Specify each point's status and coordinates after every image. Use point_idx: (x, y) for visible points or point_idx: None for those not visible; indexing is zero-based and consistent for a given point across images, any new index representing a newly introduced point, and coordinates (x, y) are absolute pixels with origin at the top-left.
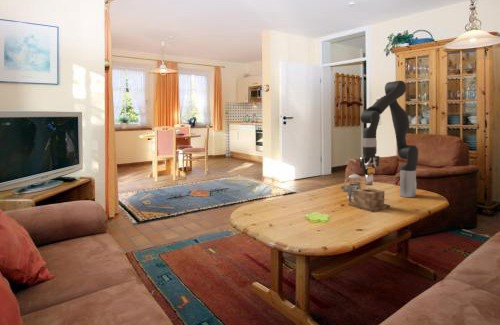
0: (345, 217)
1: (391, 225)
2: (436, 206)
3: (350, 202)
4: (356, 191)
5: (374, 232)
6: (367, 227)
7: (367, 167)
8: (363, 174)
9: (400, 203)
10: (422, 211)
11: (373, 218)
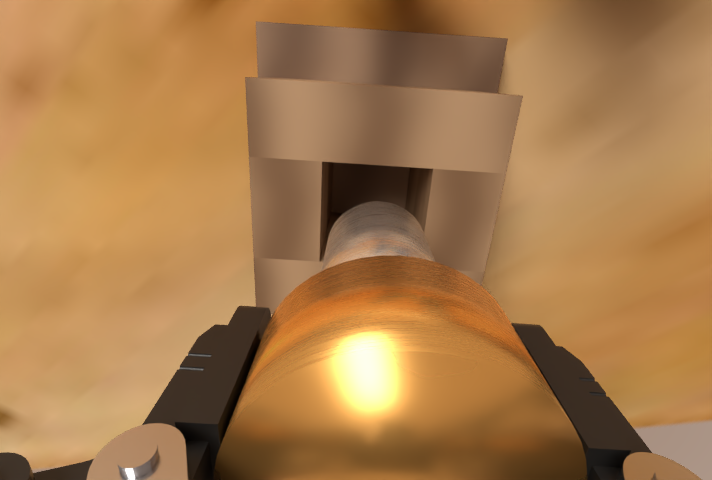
0: (34, 254)
1: None
2: (673, 421)
3: (281, 27)
4: (249, 125)
5: (42, 464)
6: (52, 418)
7: (421, 425)
8: (239, 306)
9: (620, 264)
10: None
11: (179, 357)
